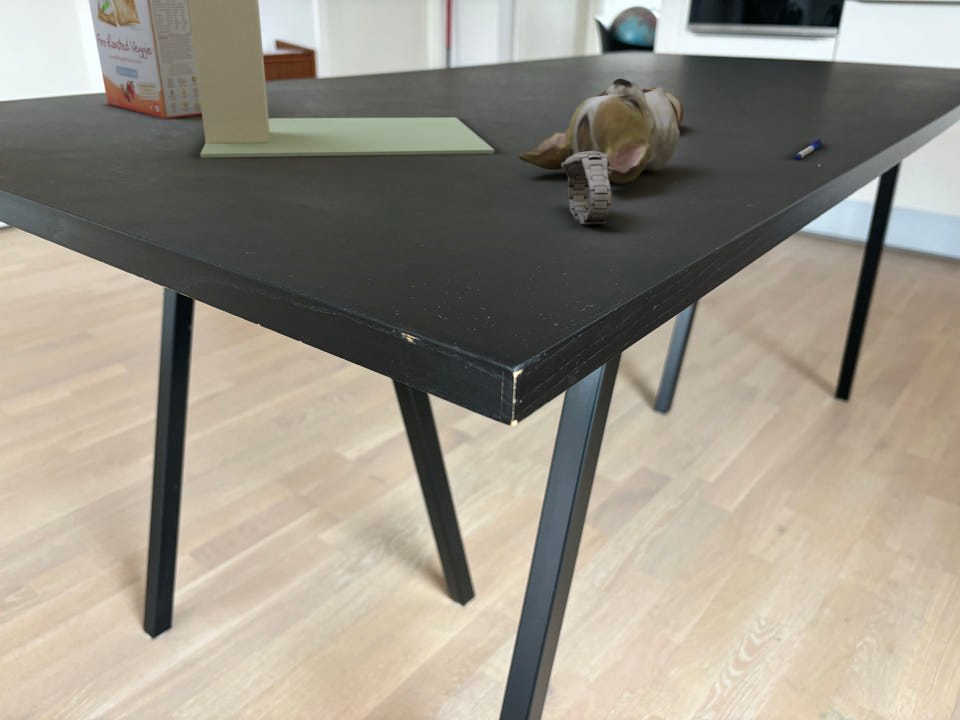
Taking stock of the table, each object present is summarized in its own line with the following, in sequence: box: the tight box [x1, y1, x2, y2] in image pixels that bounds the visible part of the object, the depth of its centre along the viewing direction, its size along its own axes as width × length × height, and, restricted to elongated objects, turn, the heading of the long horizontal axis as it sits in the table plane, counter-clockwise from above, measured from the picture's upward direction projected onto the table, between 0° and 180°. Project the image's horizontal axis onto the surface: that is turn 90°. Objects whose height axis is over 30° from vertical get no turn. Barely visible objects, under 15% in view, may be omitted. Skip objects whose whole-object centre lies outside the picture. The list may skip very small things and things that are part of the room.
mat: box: [199, 117, 495, 159], centre depth 83 cm, size 28×20×1 cm
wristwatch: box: [562, 151, 612, 226], centre depth 55 cm, size 4×6×5 cm, turn 8°
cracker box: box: [88, 0, 202, 120], centre depth 90 cm, size 14×6×21 cm, turn 49°
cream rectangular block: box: [188, 0, 270, 143], centre depth 75 cm, size 6×6×18 cm
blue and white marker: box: [794, 138, 823, 161], centre depth 83 cm, size 10×1×1 cm, turn 148°
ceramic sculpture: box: [517, 78, 681, 184], centre depth 67 cm, size 11×9×15 cm
